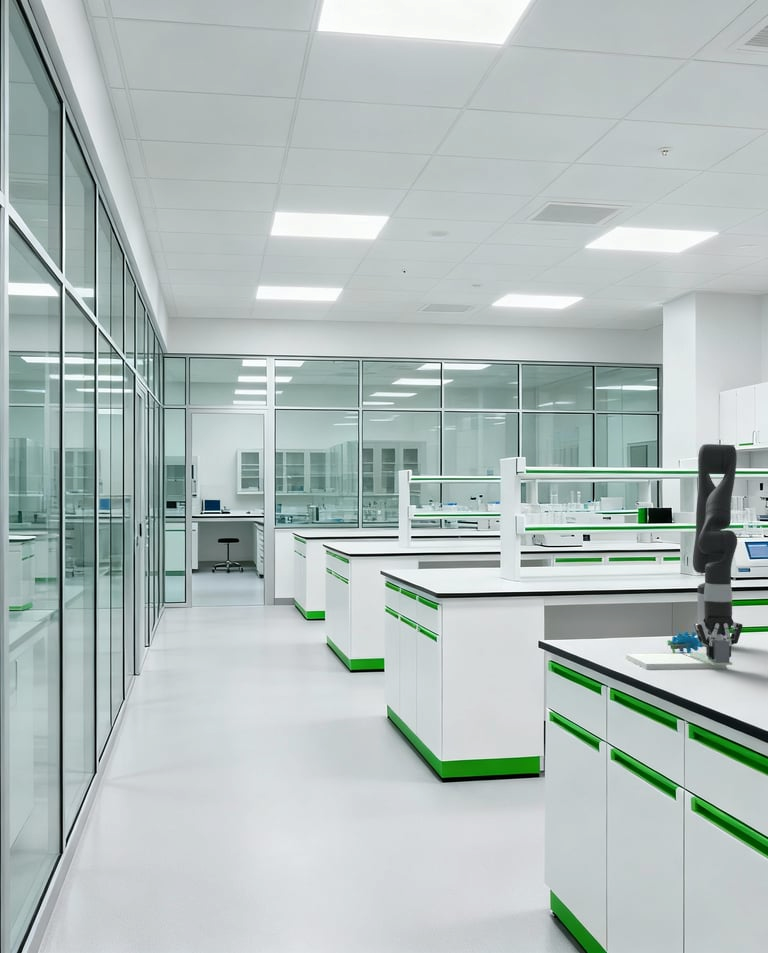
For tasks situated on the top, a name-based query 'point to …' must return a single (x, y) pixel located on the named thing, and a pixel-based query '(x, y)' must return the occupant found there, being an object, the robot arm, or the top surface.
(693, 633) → the gear
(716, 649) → the stub
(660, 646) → the top surface
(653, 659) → the ticket board
